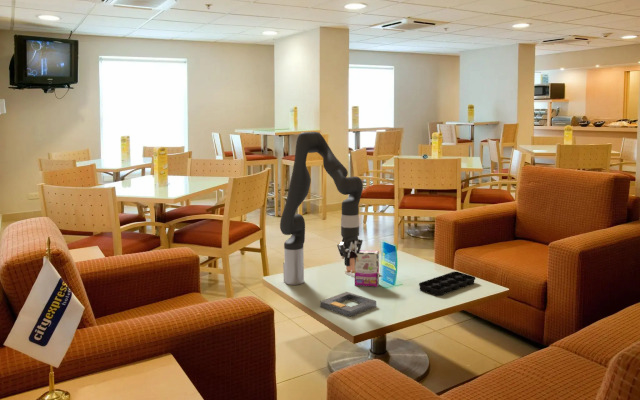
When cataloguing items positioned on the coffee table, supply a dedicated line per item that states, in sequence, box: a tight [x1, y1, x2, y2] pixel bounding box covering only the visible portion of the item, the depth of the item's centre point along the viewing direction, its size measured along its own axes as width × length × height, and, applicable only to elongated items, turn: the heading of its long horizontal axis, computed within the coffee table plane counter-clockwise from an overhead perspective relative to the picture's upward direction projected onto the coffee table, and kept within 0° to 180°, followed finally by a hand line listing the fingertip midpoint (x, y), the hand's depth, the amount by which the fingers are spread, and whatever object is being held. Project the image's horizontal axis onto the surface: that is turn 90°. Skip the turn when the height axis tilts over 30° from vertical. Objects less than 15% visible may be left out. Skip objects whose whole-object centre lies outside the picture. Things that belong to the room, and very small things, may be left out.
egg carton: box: [418, 271, 476, 297], centre depth 255 cm, size 18×30×4 cm, turn 142°
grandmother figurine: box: [341, 244, 359, 273], centre depth 229 cm, size 8×4×13 cm, turn 74°
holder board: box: [319, 291, 377, 318], centre depth 231 cm, size 17×16×3 cm
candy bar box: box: [354, 249, 380, 288], centre depth 258 cm, size 11×5×16 cm, turn 76°
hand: (350, 264), depth 229 cm, fingers closed on grandmother figurine, 3 cm apart
